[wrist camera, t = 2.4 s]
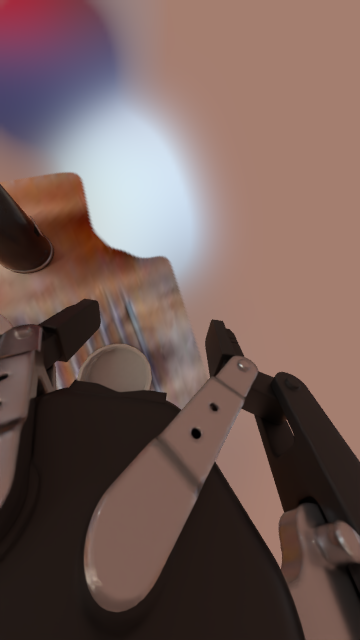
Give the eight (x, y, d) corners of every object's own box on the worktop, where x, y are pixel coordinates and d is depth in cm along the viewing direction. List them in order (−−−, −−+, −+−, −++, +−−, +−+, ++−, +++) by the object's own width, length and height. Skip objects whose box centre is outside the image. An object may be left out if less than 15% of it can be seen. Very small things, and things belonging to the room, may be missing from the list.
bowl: (70, 389, 28) (59, 395, 24) (112, 333, 31) (107, 330, 28) (127, 421, 29) (125, 431, 25) (161, 363, 32) (164, 364, 29)
